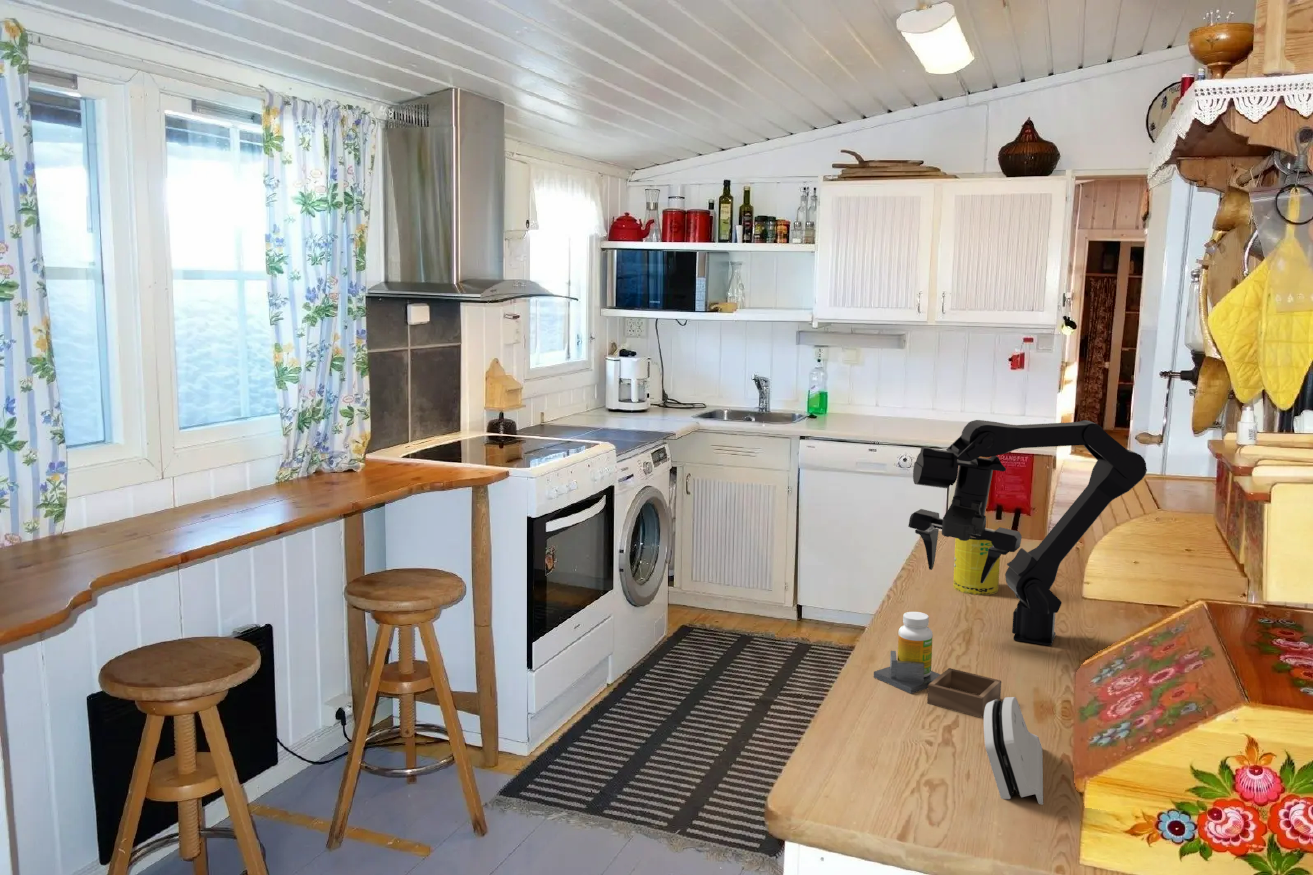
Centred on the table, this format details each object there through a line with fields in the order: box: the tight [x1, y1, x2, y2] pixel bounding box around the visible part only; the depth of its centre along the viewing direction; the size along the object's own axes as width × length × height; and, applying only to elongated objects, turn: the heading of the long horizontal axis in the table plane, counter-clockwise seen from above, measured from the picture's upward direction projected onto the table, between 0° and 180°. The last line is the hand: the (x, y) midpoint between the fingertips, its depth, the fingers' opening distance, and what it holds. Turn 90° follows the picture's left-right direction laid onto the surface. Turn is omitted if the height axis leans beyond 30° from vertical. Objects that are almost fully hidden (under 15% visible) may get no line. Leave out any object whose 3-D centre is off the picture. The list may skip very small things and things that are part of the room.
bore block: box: [926, 667, 1002, 718], centre depth 158 cm, size 8×8×3 cm
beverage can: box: [952, 527, 1001, 596], centre depth 212 cm, size 9×9×12 cm
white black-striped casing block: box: [983, 696, 1044, 805], centre depth 136 cm, size 17×5×10 cm, turn 160°
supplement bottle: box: [897, 611, 934, 677], centre depth 166 cm, size 5×5×10 cm
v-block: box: [873, 650, 942, 695], centre depth 166 cm, size 8×8×4 cm
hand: (956, 576), depth 183 cm, fingers open, 9 cm apart
